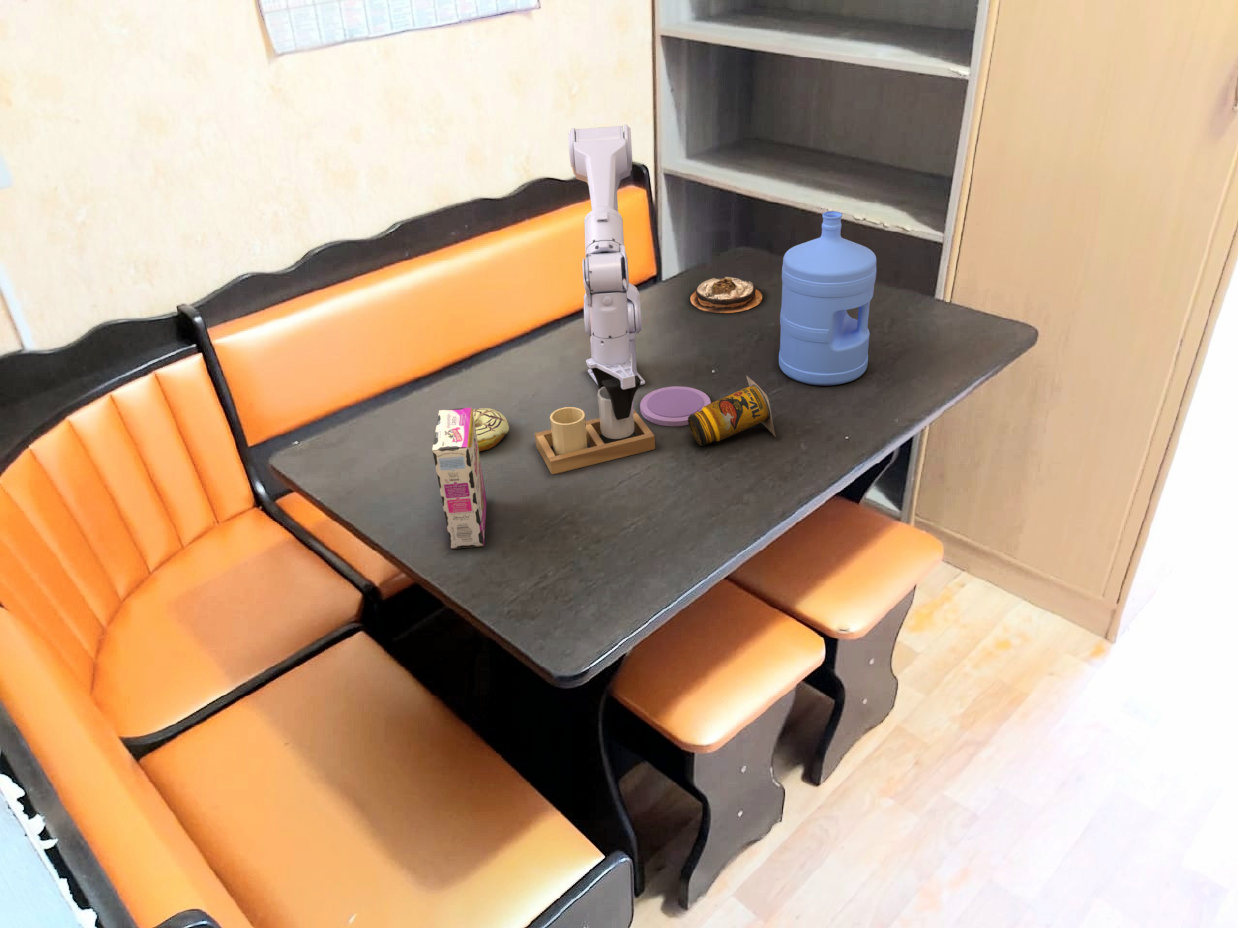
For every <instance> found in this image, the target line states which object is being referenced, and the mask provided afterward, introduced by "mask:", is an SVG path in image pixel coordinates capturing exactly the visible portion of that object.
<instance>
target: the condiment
mask: <svg viewBox="0 0 1238 928" xmlns="http://www.w3.org/2000/svg"><path fill="white" fill-rule="evenodd" d="M745 377H746V380H747V384H748V386H747V387H744V388H742V389H740V390H737V391H735V392H733V393H731V394H728V395H727V396H723V397H722V398H720V399H718V400H717V399H716V400H714V401H711V403H710V404H708V405H706V406H704V407H703V408H702V410H701V411H698V412H696V413H694V414H692V415H690V416H689V417H688V424H689V425H688V427H689V430H690V432H691V434H692V437H693V439H694V441H695V442H696V443H697V444H698V445H699V446H700V447H702V446H706V445H707V444H712V443H713V442H720V441H723V440H725V439H727V438H730V437H732V436H735V435H736V434H738V433H740V432H743V431H745V430H748V429H750V428H752V427H754V426H756V425H759V424H763V426H765V428H766V429H767V430H768V431H769V432H771V434H772V436H774V437H775V438H777V436H776V432H775V431H776V430H775V427H774V423H773V414H772V411H771V410H772V409H771V406H770V402H769V401H770V400H769V396H768V395H767V394H766V392H765V391H764V390H763V389H762V388H761V387H760V386H759V384H757V383H756V382H755V381H754V380H753V379H751V377H749V376H748V375H747V374H746V375H745Z"/></svg>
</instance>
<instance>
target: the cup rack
mask: <svg viewBox="0 0 1238 928" xmlns="http://www.w3.org/2000/svg"><path fill="white" fill-rule="evenodd" d="M633 410H634V429H635V430H634V432H633V433H635V434H636V436H631V437H626V438H622V439H618V440H615V441H612V442H608V443H607V442H606V443H605V442H604V441H603V440H602V438H601V437H600V436H601V435H602V433H601V429H600V417H597V418H593V419H588V420H586V430H587V441H588V446H589V447H588V448H587V449H582V450H578V451H574V452H570V453H566V454H562V455H558V456H555V454H554V450H553V449H552V448H553V440H552V432H551V429H545V430H543V431H539V432H538V431H537V432H535V433H534V441H535V447H536V449H537V450H538V452H539V455H540V456H541V458H542V459H543V461H544V463H545V465H546V467H547V468H548V470H549V472H550V474H551V475H556V474H561V473H565V472H569V471H573V470H576V469H580V468H584V467H588V466H593V465H597V464H601V463H605V462H608V461H612V460H617V459H621V458H625V457H628V456H633V455H636V454H641V453H645V452H649V451H653V450H656V436H655V434H654V433H653V432H652V430H650V429H651V428H649V426H648V425H647V424H646V423H645V421H644V420H643V419H642V418H641V416H640V415H639V414H638V413H637V412H636V410H635V409H633ZM551 447H552V448H551Z"/></svg>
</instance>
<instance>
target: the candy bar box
mask: <svg viewBox="0 0 1238 928" xmlns="http://www.w3.org/2000/svg"><path fill="white" fill-rule="evenodd" d="M472 409H473V407H460V408H452V409H440V410H438V414H437V420H436V426H435V431H434V437H433V443H432V451H431V452H432V456H433V461H434V466H435V471H436V476H437V481H438V488H439V493H440V497H441V503H442V509H443V513H444V514H443V515H444V518H445V524H446V530H447V534H448V540H449V545H450V549H452V550H454V549H455V550H456V549H457V550H458V549H467V548H480V547H484V546H485V534H486V521H487V520H486V517H487V504H488V500H487V493H486V489H485V481H484V475H483V469H482V463H481V457H480V451H479V449H478V442H477V436H476V429H475V423H474V417H473V410H472Z"/></svg>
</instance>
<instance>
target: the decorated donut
mask: <svg viewBox="0 0 1238 928" xmlns="http://www.w3.org/2000/svg"><path fill="white" fill-rule="evenodd" d="M472 410H473V417H474V423H475V429H476V436H477V442H478V449H479V452H482V451H486V450H490V449H492V448H493V447H495V446H496V445H498V444H499V443H500V442H501V440H503V438H504V437H505V435H506V434H508V432H509V431H510V425H509V423H508V420H507V418H506V416H504V415H503V414H502V413H501V412H500V411H498V410H495V409H493V408H489V407H483V408H482V407H479V408H472Z"/></svg>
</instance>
